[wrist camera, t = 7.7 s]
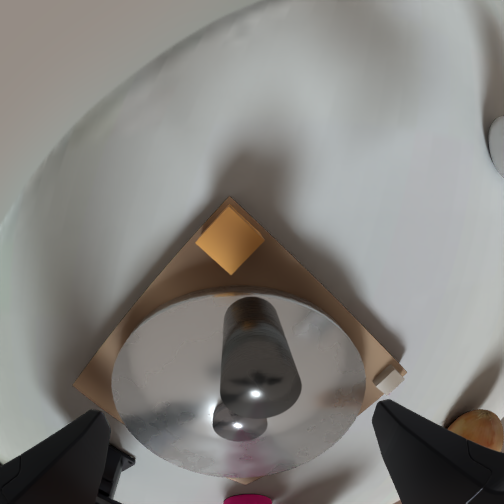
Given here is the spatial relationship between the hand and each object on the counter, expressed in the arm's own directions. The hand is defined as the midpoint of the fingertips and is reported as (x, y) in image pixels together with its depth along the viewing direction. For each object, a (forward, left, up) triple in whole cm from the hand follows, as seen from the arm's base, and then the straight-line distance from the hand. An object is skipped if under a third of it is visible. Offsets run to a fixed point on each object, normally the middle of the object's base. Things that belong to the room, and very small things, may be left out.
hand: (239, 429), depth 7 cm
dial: (-6, -5, -10) cm, 12 cm away
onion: (+4, -36, -12) cm, 38 cm away
